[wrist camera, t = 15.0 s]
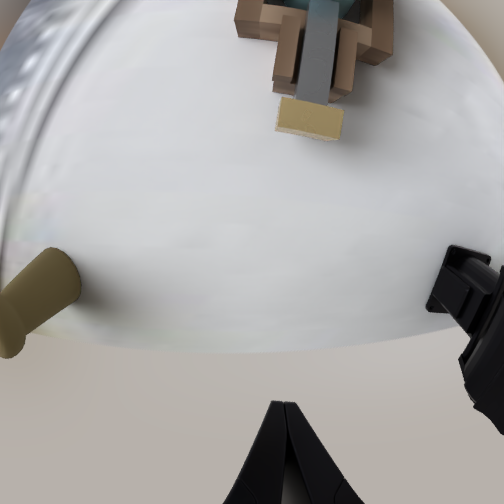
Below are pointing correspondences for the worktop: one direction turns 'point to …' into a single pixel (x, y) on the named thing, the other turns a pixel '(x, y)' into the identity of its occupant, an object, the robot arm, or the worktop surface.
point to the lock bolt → (314, 78)
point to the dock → (291, 34)
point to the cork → (36, 297)
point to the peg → (345, 3)
